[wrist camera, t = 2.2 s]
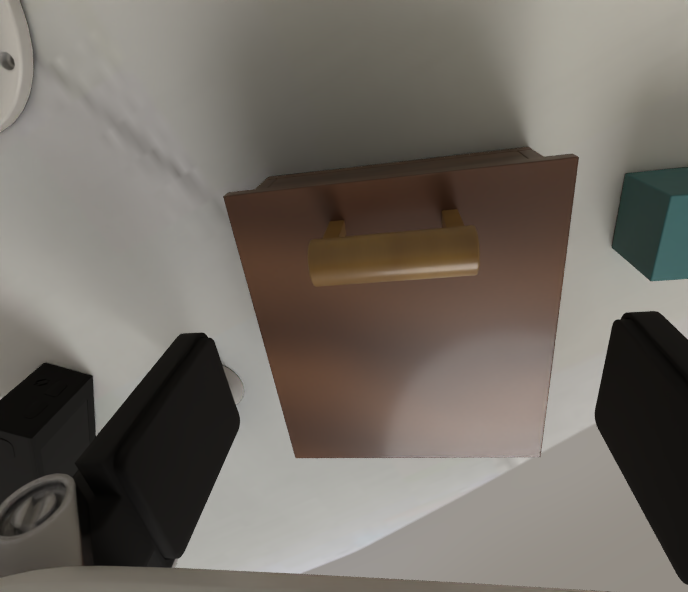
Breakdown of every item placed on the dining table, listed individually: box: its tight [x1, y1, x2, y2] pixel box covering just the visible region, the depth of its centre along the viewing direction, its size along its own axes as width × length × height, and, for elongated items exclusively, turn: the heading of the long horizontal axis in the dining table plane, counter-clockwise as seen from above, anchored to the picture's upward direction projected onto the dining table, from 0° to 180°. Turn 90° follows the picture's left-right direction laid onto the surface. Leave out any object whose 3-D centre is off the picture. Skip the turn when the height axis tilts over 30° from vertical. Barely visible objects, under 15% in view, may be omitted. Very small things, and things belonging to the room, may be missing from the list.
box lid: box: [223, 154, 579, 458], centre depth 20 cm, size 17×15×5 cm
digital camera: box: [0, 363, 96, 505], centre depth 35 cm, size 10×5×7 cm, turn 164°
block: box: [612, 167, 688, 281], centre depth 22 cm, size 4×4×4 cm
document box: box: [256, 147, 543, 189], centre depth 25 cm, size 17×15×6 cm
